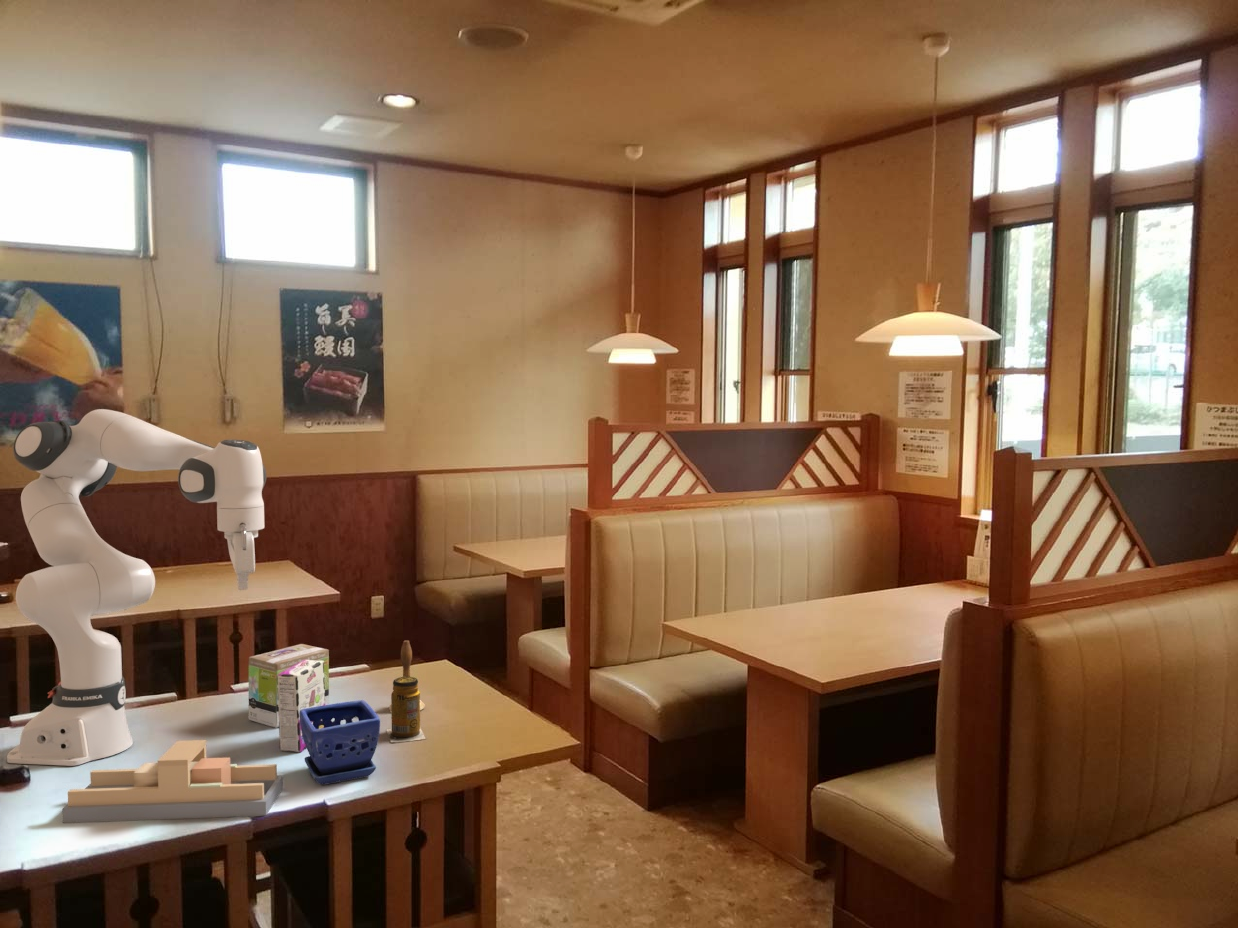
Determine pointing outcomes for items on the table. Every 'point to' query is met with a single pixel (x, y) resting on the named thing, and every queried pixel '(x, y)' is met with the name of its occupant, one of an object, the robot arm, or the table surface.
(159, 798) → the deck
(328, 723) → the flower pot
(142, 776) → the maple bar
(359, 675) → the table surface
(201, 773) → the terracotta cube
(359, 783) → the table surface
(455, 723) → the table surface
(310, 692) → the candy bar box
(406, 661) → the hand bell
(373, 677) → the table surface
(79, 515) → the robot arm
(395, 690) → the condiment
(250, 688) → the tea box
